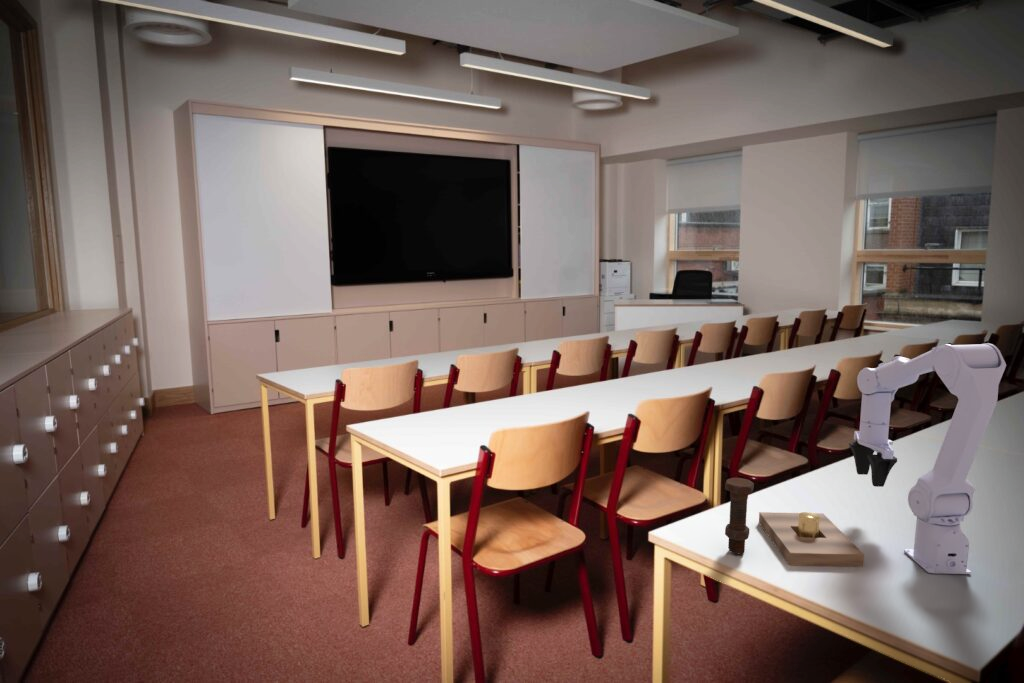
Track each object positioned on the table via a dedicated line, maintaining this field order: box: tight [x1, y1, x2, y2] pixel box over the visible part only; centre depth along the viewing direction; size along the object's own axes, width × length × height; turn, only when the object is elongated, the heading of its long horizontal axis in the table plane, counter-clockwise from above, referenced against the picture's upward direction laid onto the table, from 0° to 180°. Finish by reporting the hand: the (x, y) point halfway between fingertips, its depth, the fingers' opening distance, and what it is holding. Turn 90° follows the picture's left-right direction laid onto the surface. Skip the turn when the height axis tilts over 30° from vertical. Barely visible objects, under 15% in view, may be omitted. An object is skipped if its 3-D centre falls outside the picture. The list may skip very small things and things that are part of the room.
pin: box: [798, 512, 820, 538], centre depth 143 cm, size 4×4×6 cm
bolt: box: [724, 477, 755, 556], centre depth 138 cm, size 6×5×15 cm
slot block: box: [758, 511, 865, 568], centre depth 143 cm, size 20×14×2 cm
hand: (870, 479), depth 153 cm, fingers open, 7 cm apart
